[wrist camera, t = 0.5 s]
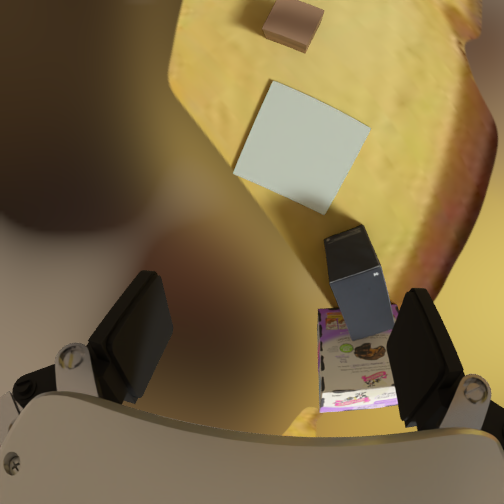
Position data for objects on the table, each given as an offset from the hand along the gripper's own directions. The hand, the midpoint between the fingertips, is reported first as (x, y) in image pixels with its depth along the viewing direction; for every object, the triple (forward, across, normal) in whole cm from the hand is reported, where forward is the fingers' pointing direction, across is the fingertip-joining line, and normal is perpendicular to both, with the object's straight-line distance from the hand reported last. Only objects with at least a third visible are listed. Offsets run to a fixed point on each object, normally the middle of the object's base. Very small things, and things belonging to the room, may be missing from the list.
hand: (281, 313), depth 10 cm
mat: (+28, -1, -2) cm, 28 cm away
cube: (+28, 0, -17) cm, 33 cm away
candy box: (+28, -12, +25) cm, 39 cm away
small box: (+28, -10, +14) cm, 33 cm away
